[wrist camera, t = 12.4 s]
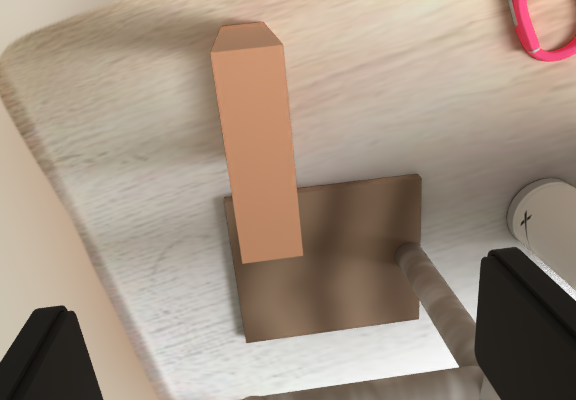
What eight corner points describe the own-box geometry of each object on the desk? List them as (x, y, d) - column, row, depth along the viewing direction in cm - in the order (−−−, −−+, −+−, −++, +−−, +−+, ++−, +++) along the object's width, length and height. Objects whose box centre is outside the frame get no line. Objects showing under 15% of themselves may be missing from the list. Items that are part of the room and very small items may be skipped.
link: (263, 22, 35) (283, 44, 20) (277, 155, 39) (303, 255, 24) (221, 26, 35) (210, 52, 20) (239, 160, 39) (242, 263, 24)
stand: (419, 173, 41) (541, 293, 24) (417, 312, 46) (514, 484, 30) (220, 198, 40) (210, 339, 24) (242, 336, 45) (246, 527, 29)
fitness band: (495, -26, 35) (505, -27, 34) (570, -70, 35) (584, -72, 33) (528, 74, 39) (539, 77, 37) (597, 35, 38) (611, 37, 36)
